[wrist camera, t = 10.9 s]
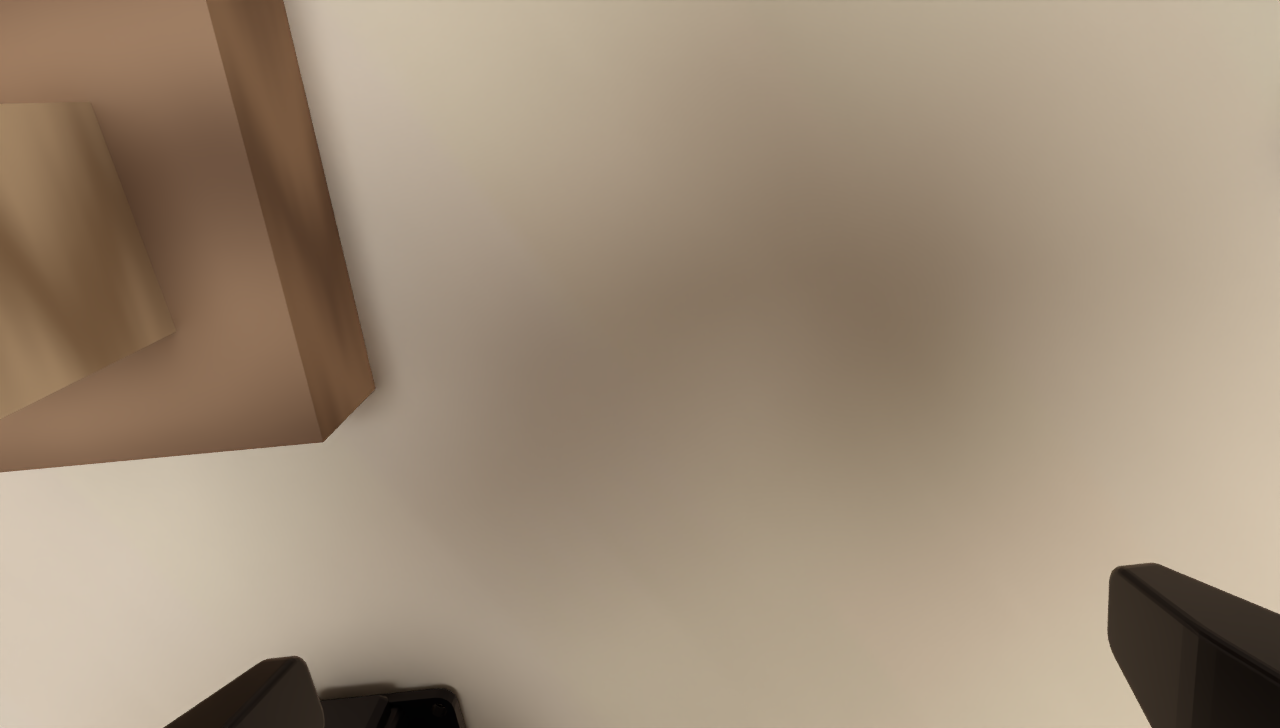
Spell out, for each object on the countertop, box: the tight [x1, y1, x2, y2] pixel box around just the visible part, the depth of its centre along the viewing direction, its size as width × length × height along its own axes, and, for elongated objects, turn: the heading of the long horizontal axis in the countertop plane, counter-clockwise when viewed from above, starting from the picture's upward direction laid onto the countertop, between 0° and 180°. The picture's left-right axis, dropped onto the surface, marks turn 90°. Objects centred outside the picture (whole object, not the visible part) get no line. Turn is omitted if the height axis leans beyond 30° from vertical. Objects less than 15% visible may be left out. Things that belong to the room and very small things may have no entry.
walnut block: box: [0, 0, 375, 472], centre depth 19 cm, size 11×11×4 cm
